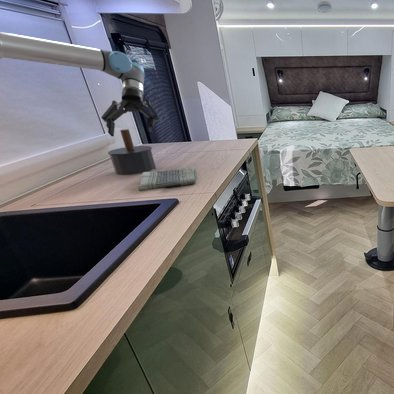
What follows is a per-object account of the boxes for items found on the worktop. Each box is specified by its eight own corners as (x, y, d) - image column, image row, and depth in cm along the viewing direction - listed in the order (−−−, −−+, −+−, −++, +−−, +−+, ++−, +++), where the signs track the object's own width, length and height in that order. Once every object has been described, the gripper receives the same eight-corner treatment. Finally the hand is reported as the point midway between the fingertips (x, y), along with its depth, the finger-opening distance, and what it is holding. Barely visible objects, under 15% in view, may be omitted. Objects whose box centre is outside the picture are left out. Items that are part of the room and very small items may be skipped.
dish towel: (197, 184, 105) (195, 176, 104) (138, 193, 97) (135, 184, 96) (196, 171, 120) (194, 163, 119) (145, 177, 113) (143, 169, 112)
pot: (108, 176, 114) (101, 155, 111) (128, 167, 127) (122, 148, 123) (145, 175, 116) (139, 154, 113) (161, 165, 128) (156, 146, 125)
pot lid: (99, 157, 111) (91, 133, 107) (122, 149, 124) (115, 127, 121) (140, 156, 112) (133, 132, 109) (158, 148, 126) (153, 126, 122)
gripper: (167, 98, 134) (167, 136, 126) (104, 100, 127) (99, 140, 120) (161, 86, 127) (160, 126, 119) (94, 87, 120) (88, 129, 113)
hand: (130, 133), depth 119 cm, fingers open, 13 cm apart
